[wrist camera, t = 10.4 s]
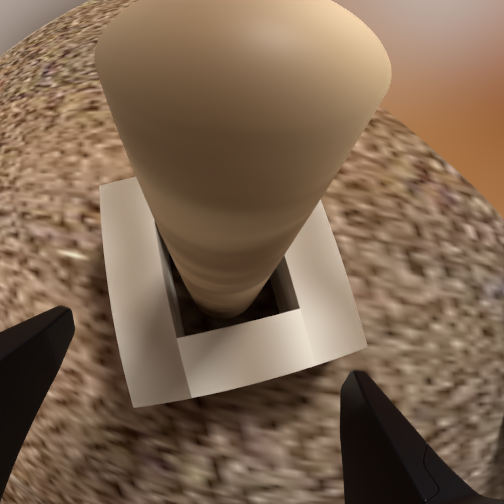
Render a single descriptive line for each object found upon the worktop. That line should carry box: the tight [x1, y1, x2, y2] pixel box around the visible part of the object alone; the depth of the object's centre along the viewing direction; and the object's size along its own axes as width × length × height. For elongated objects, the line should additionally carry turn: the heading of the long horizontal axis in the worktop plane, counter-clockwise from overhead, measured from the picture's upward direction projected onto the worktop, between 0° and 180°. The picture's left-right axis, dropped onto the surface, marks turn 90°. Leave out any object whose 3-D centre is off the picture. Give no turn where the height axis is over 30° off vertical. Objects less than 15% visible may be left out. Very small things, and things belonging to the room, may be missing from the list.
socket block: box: [99, 177, 368, 408], centre depth 16 cm, size 11×11×4 cm
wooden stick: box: [95, 0, 391, 319], centre depth 11 cm, size 4×4×16 cm
